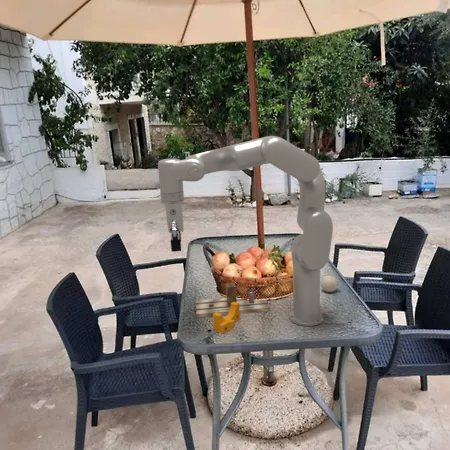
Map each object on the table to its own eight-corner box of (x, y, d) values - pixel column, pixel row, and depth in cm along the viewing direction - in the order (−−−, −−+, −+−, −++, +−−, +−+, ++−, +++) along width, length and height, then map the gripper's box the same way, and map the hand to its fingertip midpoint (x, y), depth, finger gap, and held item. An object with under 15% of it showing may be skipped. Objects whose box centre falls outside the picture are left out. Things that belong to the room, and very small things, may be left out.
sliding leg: (235, 300, 163) (234, 282, 161) (236, 304, 160) (235, 286, 158) (226, 300, 163) (225, 283, 161) (227, 305, 159) (226, 287, 157)
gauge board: (264, 297, 169) (263, 293, 168) (269, 311, 157) (269, 306, 157) (195, 303, 167) (195, 299, 166) (196, 317, 155) (196, 313, 154)
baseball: (341, 292, 170) (341, 277, 168) (325, 295, 168) (325, 280, 166) (333, 286, 176) (333, 272, 174) (317, 289, 174) (317, 274, 173)
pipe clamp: (223, 334, 143) (222, 317, 141) (213, 330, 145) (212, 314, 144) (243, 320, 151) (243, 304, 150) (234, 317, 154) (233, 301, 152)
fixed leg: (254, 300, 163) (253, 290, 162) (254, 303, 161) (254, 292, 160) (248, 301, 163) (248, 290, 162) (249, 303, 161) (249, 292, 160)
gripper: (184, 201, 127) (188, 253, 131) (183, 191, 143) (187, 238, 148) (159, 203, 126) (164, 255, 130) (161, 193, 143) (166, 240, 147)
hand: (176, 246), depth 139 cm, fingers open, 9 cm apart
